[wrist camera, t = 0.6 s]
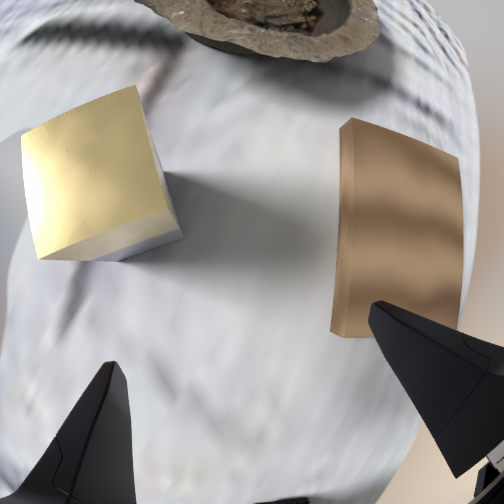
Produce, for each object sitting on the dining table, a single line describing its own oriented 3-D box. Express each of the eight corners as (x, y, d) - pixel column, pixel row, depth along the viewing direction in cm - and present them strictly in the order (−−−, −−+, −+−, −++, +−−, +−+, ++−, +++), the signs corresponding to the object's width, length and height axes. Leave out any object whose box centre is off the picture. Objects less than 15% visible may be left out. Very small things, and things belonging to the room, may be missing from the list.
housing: (184, 238, 22) (167, 208, 10) (117, 261, 20) (37, 259, 9) (163, 171, 21) (135, 84, 10) (99, 194, 20) (21, 135, 9)
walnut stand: (440, 325, 26) (456, 329, 23) (330, 331, 23) (343, 338, 21) (443, 163, 27) (457, 158, 24) (339, 128, 24) (352, 117, 22)
